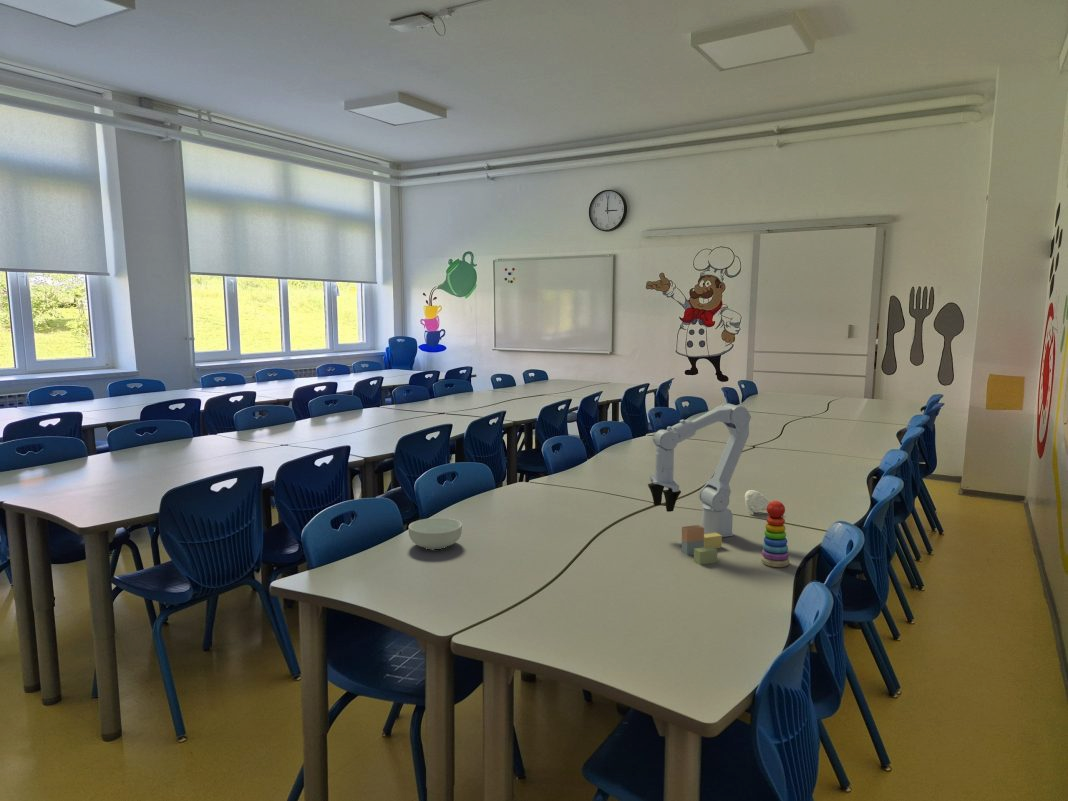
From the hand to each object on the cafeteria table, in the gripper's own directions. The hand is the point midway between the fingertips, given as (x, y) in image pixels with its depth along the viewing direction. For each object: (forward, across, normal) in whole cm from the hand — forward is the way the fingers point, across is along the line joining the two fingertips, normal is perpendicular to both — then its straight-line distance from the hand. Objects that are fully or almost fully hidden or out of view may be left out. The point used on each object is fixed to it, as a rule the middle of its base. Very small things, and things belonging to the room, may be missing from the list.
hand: (663, 508), depth 216 cm
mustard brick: (+11, +12, +10) cm, 19 cm away
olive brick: (+11, +22, +1) cm, 24 cm away
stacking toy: (+11, +30, +19) cm, 38 cm away
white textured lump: (+11, -12, +49) cm, 51 cm away
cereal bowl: (+11, -20, -71) cm, 75 cm away
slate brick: (+10, +14, +2) cm, 18 cm away
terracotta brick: (+6, +14, +2) cm, 15 cm away
